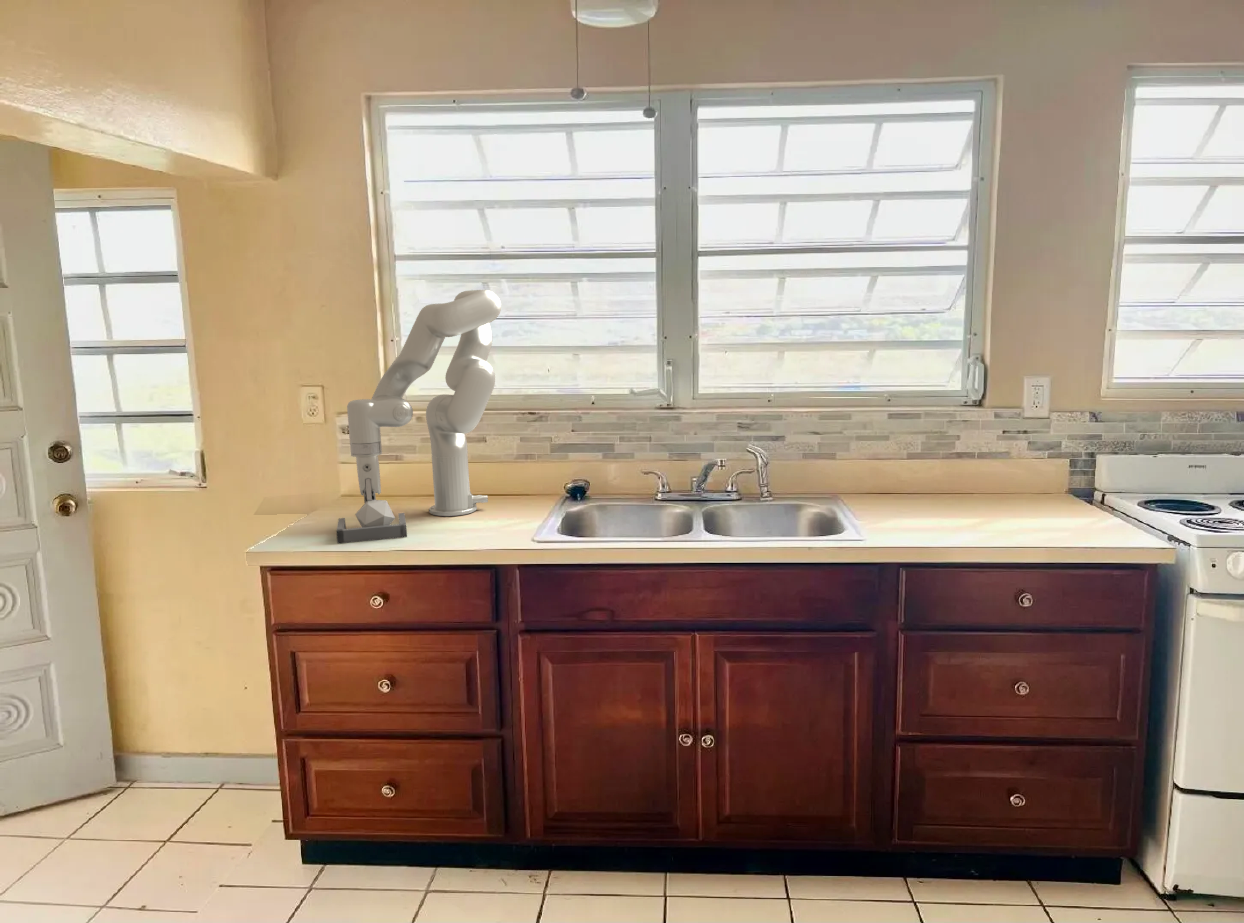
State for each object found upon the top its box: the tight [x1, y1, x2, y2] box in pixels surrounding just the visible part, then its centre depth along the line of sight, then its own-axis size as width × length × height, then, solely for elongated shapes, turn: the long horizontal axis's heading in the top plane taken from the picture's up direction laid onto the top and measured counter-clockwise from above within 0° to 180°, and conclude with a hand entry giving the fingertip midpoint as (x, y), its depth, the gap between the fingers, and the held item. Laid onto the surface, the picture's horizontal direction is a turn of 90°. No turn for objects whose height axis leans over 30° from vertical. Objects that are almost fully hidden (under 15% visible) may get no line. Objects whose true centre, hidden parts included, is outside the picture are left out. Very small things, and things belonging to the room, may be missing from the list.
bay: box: [335, 512, 408, 544], centre depth 206 cm, size 16×13×3 cm
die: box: [354, 499, 396, 528], centre depth 208 cm, size 8×9×10 cm
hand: (371, 519), depth 214 cm, fingers closed
